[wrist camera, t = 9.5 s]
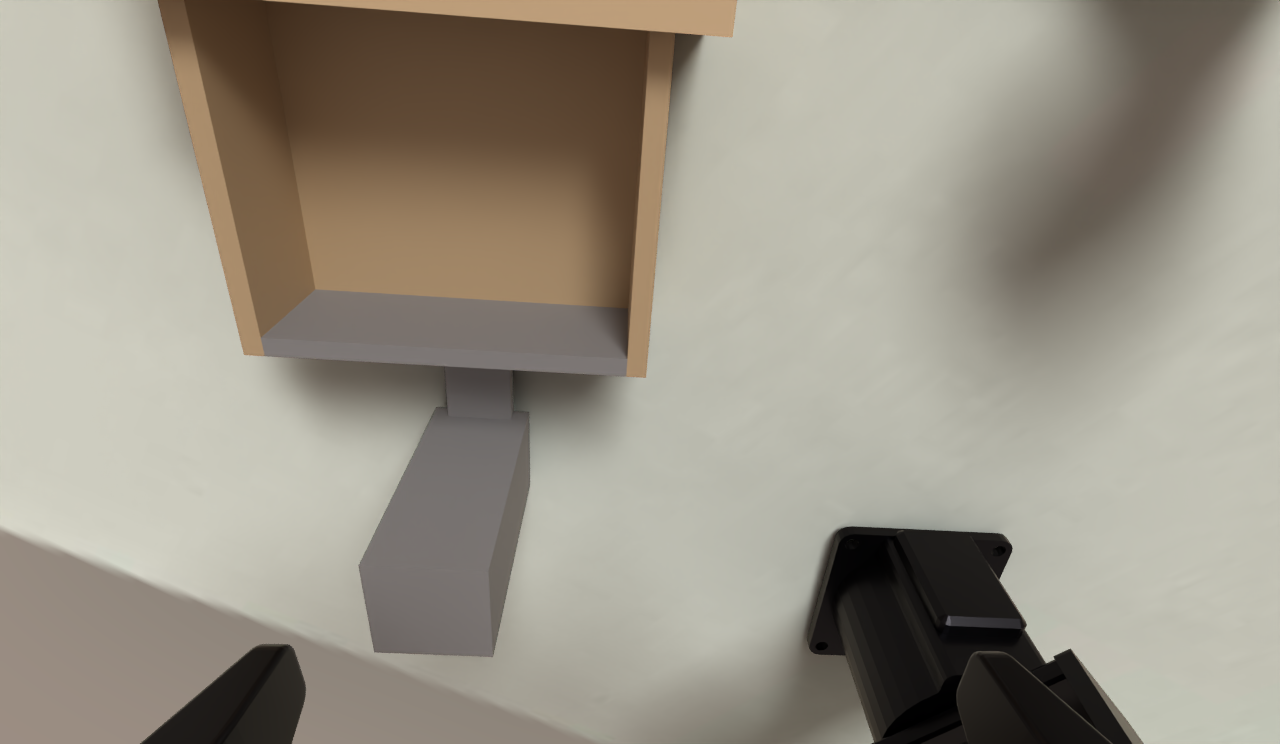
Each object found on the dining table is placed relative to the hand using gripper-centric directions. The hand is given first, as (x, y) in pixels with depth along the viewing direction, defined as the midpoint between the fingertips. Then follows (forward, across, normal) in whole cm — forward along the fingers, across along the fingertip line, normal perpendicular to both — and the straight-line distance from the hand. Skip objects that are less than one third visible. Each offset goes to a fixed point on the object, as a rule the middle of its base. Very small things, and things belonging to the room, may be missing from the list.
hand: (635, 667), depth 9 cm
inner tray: (+13, +5, -3) cm, 14 cm away
